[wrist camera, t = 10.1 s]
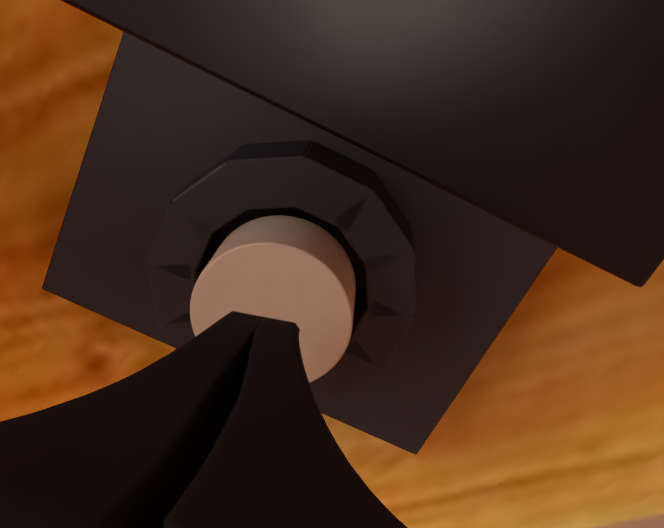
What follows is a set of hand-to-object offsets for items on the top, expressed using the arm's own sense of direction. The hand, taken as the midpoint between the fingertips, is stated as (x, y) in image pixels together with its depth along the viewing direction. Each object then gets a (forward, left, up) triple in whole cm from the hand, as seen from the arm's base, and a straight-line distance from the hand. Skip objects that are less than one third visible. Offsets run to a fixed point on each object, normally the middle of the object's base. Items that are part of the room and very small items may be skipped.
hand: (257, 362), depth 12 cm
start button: (0, 0, -4) cm, 4 cm away
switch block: (0, 0, -6) cm, 6 cm away
